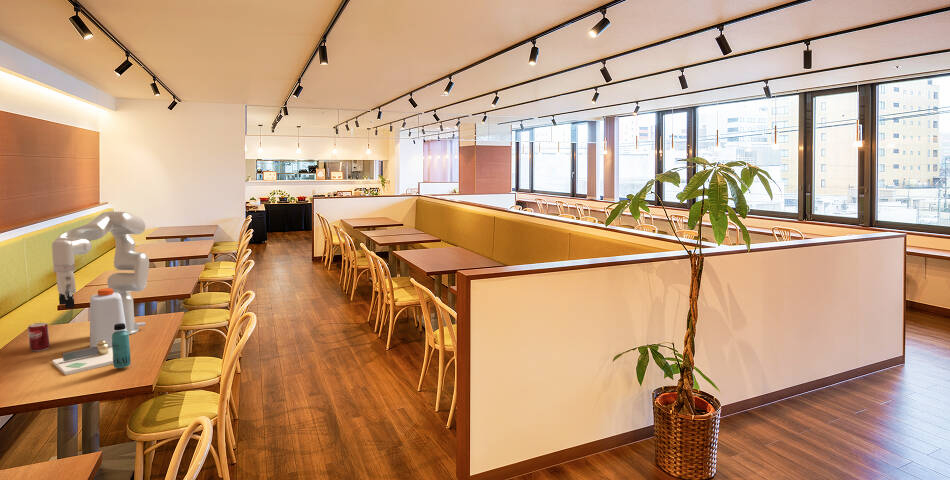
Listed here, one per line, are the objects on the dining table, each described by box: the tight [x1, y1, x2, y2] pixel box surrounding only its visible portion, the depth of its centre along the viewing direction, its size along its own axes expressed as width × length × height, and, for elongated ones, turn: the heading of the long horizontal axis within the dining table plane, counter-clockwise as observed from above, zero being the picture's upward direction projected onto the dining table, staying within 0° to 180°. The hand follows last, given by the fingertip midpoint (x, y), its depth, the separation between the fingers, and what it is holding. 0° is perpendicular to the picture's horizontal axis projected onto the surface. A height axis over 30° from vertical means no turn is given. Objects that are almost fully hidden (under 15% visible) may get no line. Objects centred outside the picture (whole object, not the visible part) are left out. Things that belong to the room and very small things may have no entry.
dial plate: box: [51, 347, 114, 376], centre depth 237 cm, size 23×20×2 cm
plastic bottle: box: [89, 287, 127, 348], centre depth 256 cm, size 15×15×28 cm
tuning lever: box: [62, 340, 108, 361], centre depth 238 cm, size 17×4×6 cm, turn 140°
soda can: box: [27, 322, 51, 352], centre depth 251 cm, size 7×7×12 cm
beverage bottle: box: [112, 323, 132, 369], centre depth 229 cm, size 6×7×20 cm
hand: (66, 306), depth 237 cm, fingers open, 9 cm apart
